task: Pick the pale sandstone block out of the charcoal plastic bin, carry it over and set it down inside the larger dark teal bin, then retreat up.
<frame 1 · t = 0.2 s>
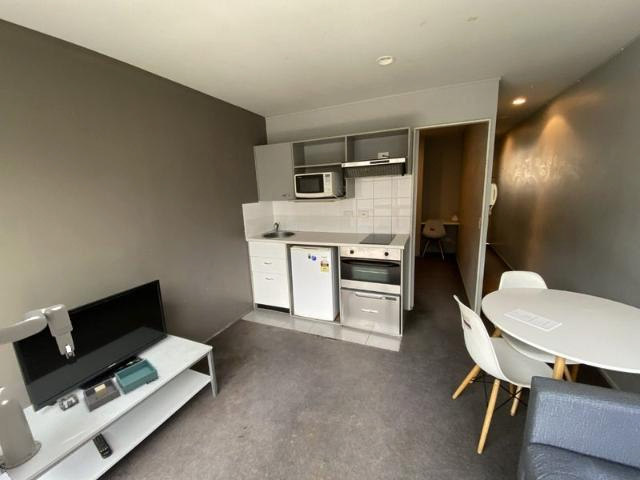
hand: (71, 359, 137), 36 cm above the table, tool pointing down, fingers open, 9 cm apart
egg carton: (70, 404, 156), on the table
stone block: (102, 396, 159), point 1 cm above the table, touching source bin
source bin: (102, 397, 159), on the table
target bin: (137, 379, 172), on the table
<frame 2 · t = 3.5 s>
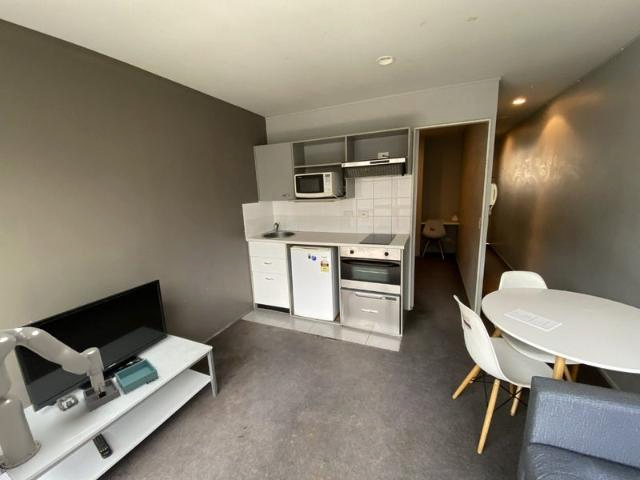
hand: (102, 395, 159), 1 cm above the table, tool pointing down, fingers closed on stone block, 4 cm apart
stone block: (102, 396, 159), point 1 cm above the table, touching gripper, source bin
everything else where it was.
when the fingers open (3 cm above the table, at t = 10.8 s): stone block drops 2 cm, resting on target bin.
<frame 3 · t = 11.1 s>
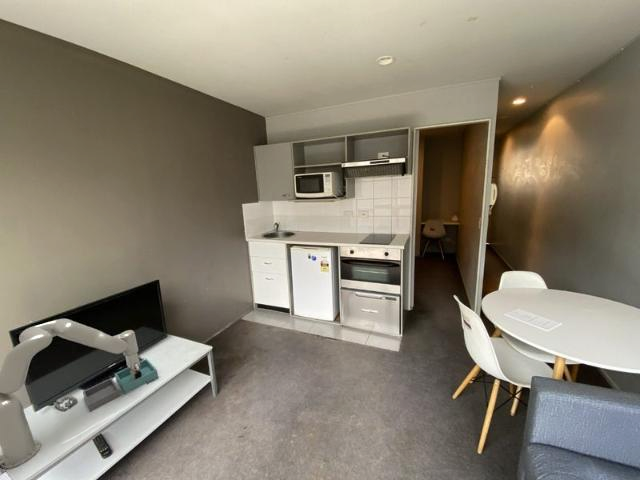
hand: (136, 374, 171), 4 cm above the table, tool pointing down, fingers open, 7 cm apart
stone block: (137, 378, 172), point 1 cm above the table, touching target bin
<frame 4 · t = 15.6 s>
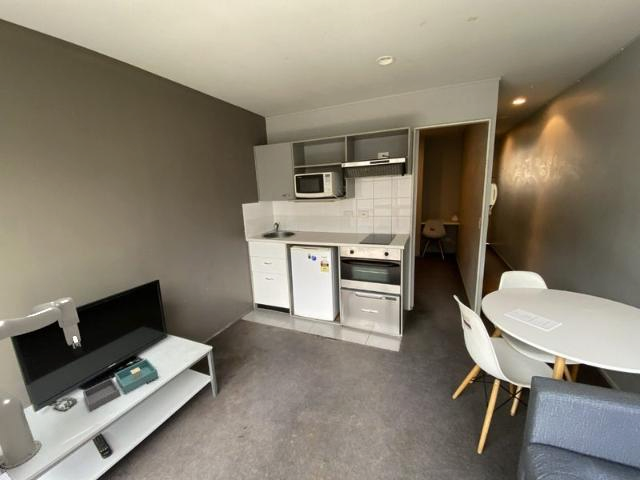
hand: (77, 350, 145), 36 cm above the table, tool pointing down, fingers open, 9 cm apart
at the end: stone block inside the target area on the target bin (0.1 cm from its centre), point 1.0 cm above the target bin's base; the gripper is holding nothing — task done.
